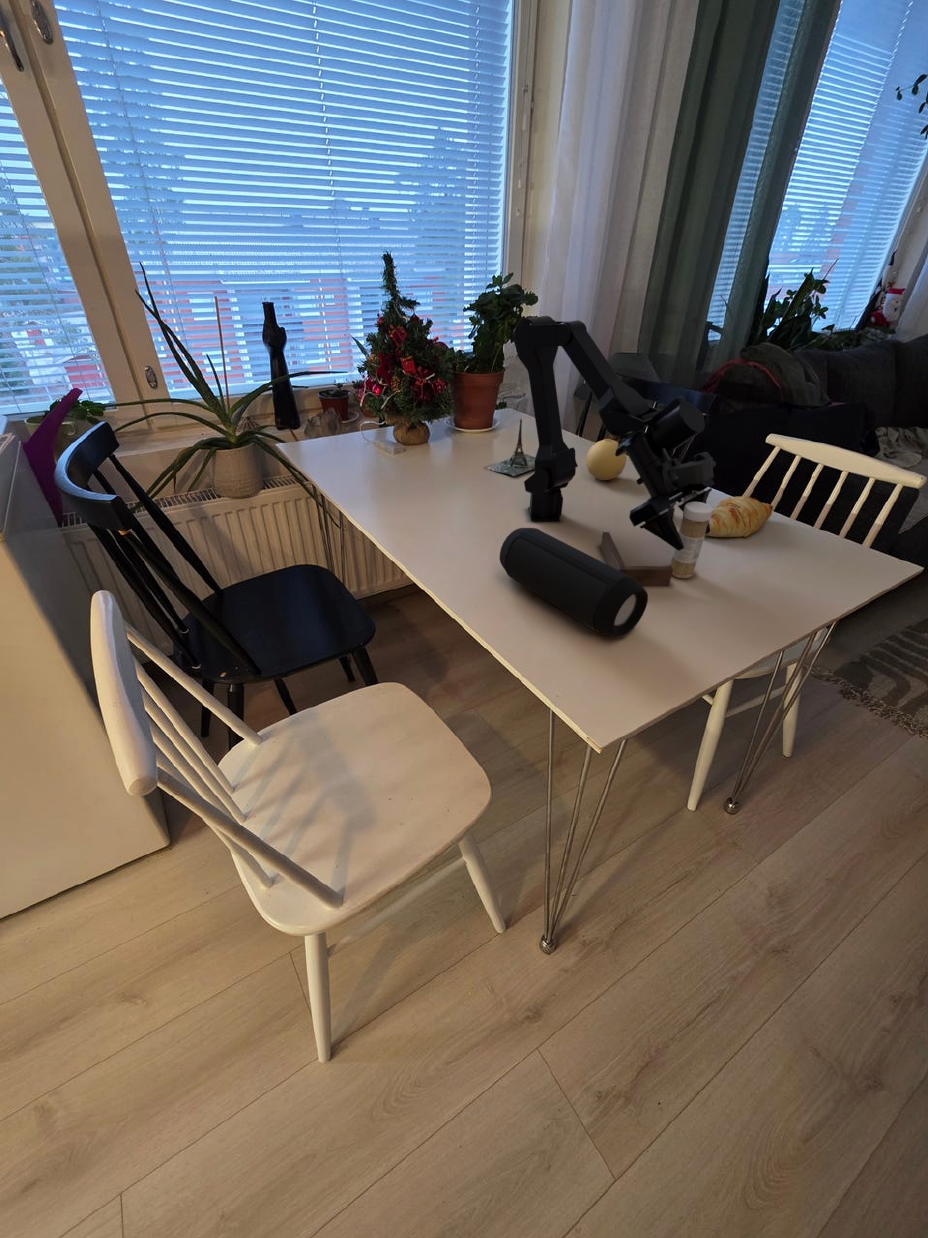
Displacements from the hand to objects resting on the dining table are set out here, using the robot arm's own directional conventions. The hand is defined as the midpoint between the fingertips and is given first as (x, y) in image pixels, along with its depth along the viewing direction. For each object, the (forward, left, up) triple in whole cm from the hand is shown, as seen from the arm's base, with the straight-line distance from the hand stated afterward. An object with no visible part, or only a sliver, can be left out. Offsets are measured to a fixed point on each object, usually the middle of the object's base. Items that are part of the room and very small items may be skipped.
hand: (695, 541), depth 93 cm
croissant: (+17, +20, -7) cm, 27 cm away
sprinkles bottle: (-1, +1, -7) cm, 7 cm away
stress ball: (-5, +48, -7) cm, 49 cm away
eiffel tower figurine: (-26, +57, -7) cm, 63 cm away
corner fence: (-9, +4, -7) cm, 12 cm away
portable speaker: (-24, -9, -7) cm, 26 cm away
